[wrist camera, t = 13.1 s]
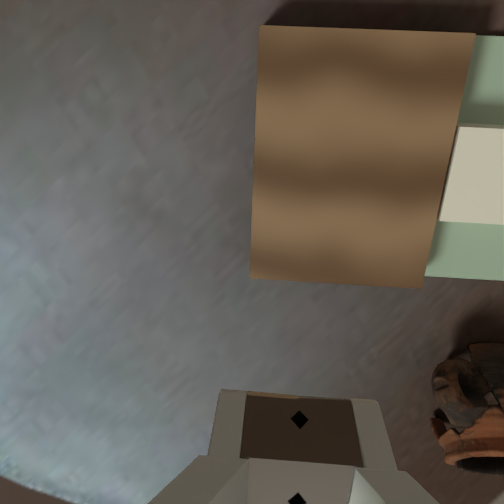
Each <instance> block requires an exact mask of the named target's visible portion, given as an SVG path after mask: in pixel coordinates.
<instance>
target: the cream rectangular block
mask: <svg viewBox="0 0 504 504" xmlns="http://www.w3.org/2000/svg"><path fill="white" fill-rule="evenodd" d="M437 219H438V220H439V221H446V222H464V223H481V224H498V225H504V125H496V124H476V123H457V125H456V130H455V134H454V139H453V144H452V149H451V153H450V158H449V163H448V167H447V172H446V177H445V181H444V186H443V191H442V196H441V200H440V205H439V210H438V214H437Z"/></svg>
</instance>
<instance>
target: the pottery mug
mask: <svg viewBox="0 0 504 504" xmlns="http://www.w3.org/2000/svg"><path fill="white" fill-rule="evenodd" d="M469 351H470V353H471V362H469V361H468V360H465V359H462V358H453V359H451V360H445V361H444V362H441V363H440V364H438V365H437V367H436V369H435V370H434V372H433V375H432V390H433V395H434V398H435V400H436V402H437V404H438V406H439V407H440V408H441V409H442V411H443V412H444V413H445V414H446V416H447V418H448V419H449V421H450V423H451V424H452V425H454V426H456V427H464V430H463V431H462V432H461V433H459V432H458V431H457V430H456V429H455V428H450V429H449V430H448V431H447V430H446V427H445V425H444V423H443V421H442V420H441V419H439V418H430V421H431V428H432V430H433V434H434V435H435V437H436V438H437V440H438V443H439V444H440V445H441V446H442V447H443V448H444V450H445V456H444V460H445V462H446V463H447V464H451V465H456V461H457V467H458V469H459V470H463V471H466V472H471V473H479V474H484V475H500V476H504V344H500V343H491V342H489V343H477V344H470V345H469ZM489 392H492V393H493V395H494V397H495V399H496V400H497V402H498V405H489V406H488V403H487V400H486V399H485V398H484V396H485V395H486V394H487V393H489Z"/></svg>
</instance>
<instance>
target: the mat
mask: <svg viewBox="0 0 504 504" xmlns="http://www.w3.org/2000/svg"><path fill="white" fill-rule="evenodd" d="M457 123H476V124H496V125H504V36H482V35H476V36H475V40H474V45H473V50H472V54H471V59H470V64H469V69H468V73H467V78H466V83H465V87H464V92H463V97H462V101H461V106H460V111H459V116H458V120H457ZM425 276H435V277H452V278H469V279H486V280H503V281H504V225H498V224H481V223H464V222H446V221H439V220H438V219H436V224H435V229H434V233H433V238H432V243H431V247H430V252H429V257H428V261H427V266H426V271H425Z"/></svg>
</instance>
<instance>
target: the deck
mask: <svg viewBox="0 0 504 504" xmlns="http://www.w3.org/2000/svg"><path fill="white" fill-rule="evenodd" d="M475 36H476V33H457V32H430V31H404V30H377V29H351V28H324V27H298V26H271V25H259V46H258V71H257V97H256V123H255V148H254V174H253V200H252V226H251V251H250V277H249V278H253V279H270V280H286V281H303V282H319V283H336V284H352V285H369V286H385V287H402V288H418V289H422V285H423V280H424V276H425V271H426V266H427V261H428V257H429V252H430V247H431V243H432V238H433V233H434V229H435V224H436V219H437V214H438V210H439V205H440V200H441V196H442V191H443V186H444V181H445V177H446V172H447V167H448V163H449V158H450V153H451V149H452V144H453V139H454V134H455V130H456V125H457V120H458V116H459V111H460V106H461V101H462V97H463V92H464V87H465V83H466V78H467V73H468V69H469V64H470V59H471V54H472V50H473V45H474V40H475Z"/></svg>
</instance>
